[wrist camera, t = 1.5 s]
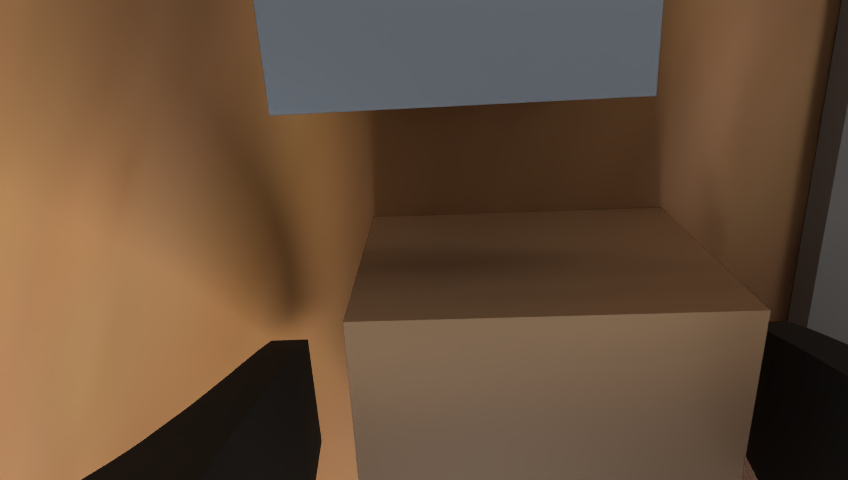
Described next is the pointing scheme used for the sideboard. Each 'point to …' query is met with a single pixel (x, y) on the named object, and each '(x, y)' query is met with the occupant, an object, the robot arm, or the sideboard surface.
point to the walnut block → (549, 349)
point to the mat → (827, 211)
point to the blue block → (454, 52)
